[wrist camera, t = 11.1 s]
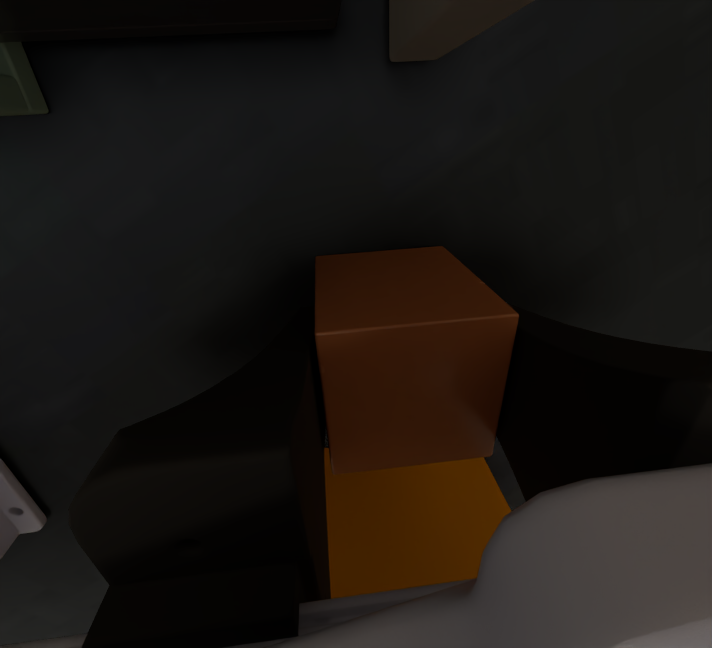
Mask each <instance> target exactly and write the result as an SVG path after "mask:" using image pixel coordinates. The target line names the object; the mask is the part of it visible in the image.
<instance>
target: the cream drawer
mask: <svg viewBox="0 0 712 648" xmlns="http://www.w3.org/2000/svg"><path fill="white" fill-rule="evenodd" d="M532 1H534V0H389V58H390V60H391V61H392V62H403V61H424V60H437V59H438V58H440V57H442V56H443V55H445V54H447V53H448V52H450V51H452V50H453V49H455V48H457V47H458V46H460V45H462V44H463V43H465V42H467V41H468V40H470V39H471V38H473V37H475V36H476V35H478V34H480V33H481V32H483V31H485V30H486V29H488V28H490V27H491V26H493V25H495V24H496V23H498V22H499V21H501V20H503V19H504V18H506V17H508V16H509V15H511V14H513V13H514V12H516V11H518V10H519V9H521V8H523V7H524V6H526V5H528V4H529V3H531V2H532ZM340 5H341V0H0V43H4V42H28V41H53V40H77V39H101V38H125V37H150V36H174V35H198V34H223V33H247V32H271V31H295V30H320V29H334V28H335V27H336V25H337V20H338V15H339V10H340Z"/></svg>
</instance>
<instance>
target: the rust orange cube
mask: <svg viewBox="0 0 712 648" xmlns="http://www.w3.org/2000/svg"><path fill="white" fill-rule="evenodd" d="M518 319H519V314H518V313H517V312H516V311H515V310H514V309H513V308H512V307H510V306H509V305H508V304H507V303H506V302H505V301H504V300H503V299H501V298H500V297H499V296H498V295H497V294H496V293H495V292H494V291H493V290H491V289H490V288H489V287H488V286H487V285H486V284H485V283H484V282H482V281H481V280H480V279H479V278H478V277H477V276H476V275H475V274H474V273H472V272H471V271H470V270H469V269H468V268H467V267H466V266H465V265H463V264H462V263H461V262H460V261H459V260H458V259H457V258H456V257H455V256H453V255H452V254H451V253H450V252H449V251H448V250H447V249H446V248H445V247H443V246H435V247H423V248H411V249H398V250H386V251H374V252H361V253H349V254H337V255H324V256H316V257H315V332H314V335H315V343H316V351H317V359H318V367H319V375H320V383H321V390H322V398H323V406H324V414H325V422H326V430H327V438H328V446H329V454H330V462H331V470H332V473H333V475H338V474H347V473H355V472H364V471H372V470H380V469H389V468H397V467H405V466H414V465H422V464H430V463H439V462H447V461H455V460H464V459H472V458H481V457H489V456H492V454H493V448H494V443H495V438H496V433H497V428H498V423H499V417H500V412H501V407H502V402H503V397H504V391H505V386H506V381H507V376H508V371H509V366H510V360H511V355H512V350H513V345H514V340H515V335H516V329H517V324H518Z"/></svg>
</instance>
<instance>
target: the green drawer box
mask: <svg viewBox="0 0 712 648" xmlns="http://www.w3.org/2000/svg"><path fill="white" fill-rule="evenodd" d="M48 112H49V110H48V108H47V105H46V103H45V100H44V98H43V95H42V93H41V90H40V88H39V85H38V83H37V80H36V78H35V75H34V73H33V70H32V68H31V66H30V63H29V61H28V58H27V56H26V53H25V51H24V48H23V46H22V43H21V42H4V43H0V116H15V115H34V114H47V113H48Z"/></svg>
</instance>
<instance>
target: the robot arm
mask: <svg viewBox="0 0 712 648" xmlns="http://www.w3.org/2000/svg"><path fill="white" fill-rule="evenodd" d="M507 304H508V303H507ZM508 305H509V306H510V307H512V308H513V309H514V310H515V311H516V312H517V313H518V314H519V319H518V324H517V329H516V335H515V340H514V345H513V350H512V355H511V360H510V366H509V371H508V376H507V381H506V386H505V391H504V397H503V402H502V407H501V412H500V417H499V423H498V428H497V433H496V436H497V438H498V440H499V442H500V444H501V446H502V448H503V450H504V453H505V455H506V457H507V459H508V461H509V463H510V466H511V468H512V470H513V472H514V475H515V477H516V479H517V482H518V484H519V486H520V489H521V491H522V493H523V496H524V498H525V500H526V502H525V503H524V504H522V505H521V506H519V507H517V508H516V509H514V510H513V511H511V512H510V513H508V514H507V515H505V516H504V517H503V519H502V520H501V522H500V524H499V525H498V527H497V528H496V530H495V531H494V533H493V535H492V536H491V538H490V539H489V541H488V542H487V545H486V547H485V549H484V551H483V553H482V557H481V562H480V567H479V571H478V576H477V578H475V579H468V580H461V581H454V582H447V583H440V584H433V585H426V586H418V587H411V588H404V589H397V590H390V591H383V592H376V593H369V594H362V595H355V596H348V597H341V598H333V599H331V589H330V571H329V551H328V531H327V510H326V488H325V464H324V449H325V431H326V422H325V414H324V406H323V398H322V390H321V383H320V375H319V367H318V359H317V351H316V343H315V335H314V332H315V306H310V307H300V309H299V310H298V311H297V312H296V313H295V315H294V316H293V317H292V319H291V320H290V321H289V322H288V324H287V325H286V326H285V327H284V328H283V330H282V331H281V332H280V333H279V334H278V335H277V337H276V338H275V339H274V340H273V341H272V342H271V343H270V344H269V345H268V346H267V347H266V348H265V349H264V350H263V351H262V352H261V353H259V354H258V355H257V356H256V357H255V358H254V359H252V360H251V361H250V362H249V363H247V364H246V365H245V366H243V367H242V368H241V369H239V370H238V371H237V372H235V373H234V374H232V375H230V376H229V377H227V378H226V379H224V380H223V381H221V382H220V383H218V384H216V385H215V386H213V387H212V388H210V389H208V390H206V391H205V392H203V393H201V394H199V395H197V396H195V397H194V398H192V399H190V400H188V401H186V402H184V403H182V404H180V405H177V406H175V407H173V408H171V409H169V410H167V411H164V412H162V413H159V414H157V415H155V416H152V417H150V418H147V419H145V420H143V421H140V422H138V423H135V424H133V425H131V426H128V427H125V428H123V429H120V430H119V431H118V432H117V434H116V435H115V437H114V438H113V439H112V441H111V442H110V444H109V445H108V447H107V448H106V450H105V451H104V453H103V454H102V456H101V457H100V459H99V460H98V462H97V463H96V465H95V466H94V468H93V469H92V471H91V472H90V474H89V475H88V477H87V478H86V480H85V481H84V483H83V484H82V486H81V487H80V489H79V490H78V492H77V493H76V495H75V497H74V499H73V501H72V503H71V505H70V507H69V526H70V528H71V530H72V532H73V534H74V536H75V538H76V540H77V542H78V544H79V545H80V546H81V548H82V549H83V550H84V552H85V553H86V554H87V556H88V557H89V558H90V560H91V561H92V562H93V564H94V565H95V566H96V568H97V569H98V570H99V572H100V573H101V574H102V576H103V577H104V578H105V580H106V581H107V582H108V584H109V585H110V586H109V588H108V590H107V592H106V594H105V597H104V599H103V601H102V603H101V605H100V608H99V610H98V612H97V614H96V616H95V618H94V621H93V623H92V625H91V627H90V629H89V632H88V633H86V634H79V635H72V636H64V637H57V638H50V639H43V640H36V641H29V642H22V643H15V644H8V645H1V646H0V648H712V352H709V351H701V350H693V349H685V348H677V347H670V346H663V345H657V344H650V343H645V342H640V341H634V340H629V339H624V338H618V337H614V336H609V335H605V334H601V333H597V332H593V331H589V330H585V329H581V328H577V327H574V326H570V325H567V324H564V323H561V322H558V321H555V320H552V319H549V318H546V317H543V316H540V315H537V314H534V313H531V312H529V311H526V310H523V309H521V308H518V307H516V306H513V305H510V304H508ZM46 521H47V518H46V516H45V514H44V513H43V512H42V511H41V509H40V508H39V507H38V505H37V504H36V503H35V502H34V500H33V499H32V498H31V496H30V495H29V494H28V493H27V491H26V490H25V489H24V487H23V486H22V485H21V484H20V482H19V481H18V480H17V478H16V477H15V476H14V475H13V473H12V472H11V471H10V469H9V468H8V467H7V466H6V464H5V463H4V462H3V460H2V459H1V458H0V559H1V558H2V557H3V555H4V554H5V553H6V551H7V550H8V549H9V547H10V546H11V545H12V543H13V542H14V541H15V539H16V538H17V536H18V535H19V534H22V533H30V532H36V531H39V530H40V529H42V527H43V526H44V524H45V523H46Z"/></svg>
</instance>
